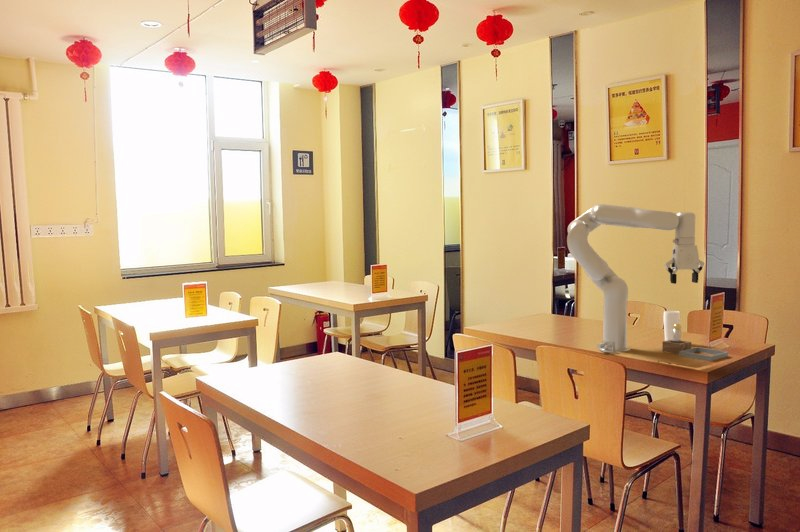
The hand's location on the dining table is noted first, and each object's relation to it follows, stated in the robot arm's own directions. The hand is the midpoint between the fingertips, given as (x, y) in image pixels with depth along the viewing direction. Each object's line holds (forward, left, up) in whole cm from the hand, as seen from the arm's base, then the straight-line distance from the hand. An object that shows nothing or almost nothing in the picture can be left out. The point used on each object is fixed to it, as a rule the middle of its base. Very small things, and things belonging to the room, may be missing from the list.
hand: (684, 282), depth 267 cm
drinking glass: (+9, +11, -29) cm, 32 cm away
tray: (-5, -12, -29) cm, 32 cm away
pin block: (-5, 0, -29) cm, 30 cm away
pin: (-5, 0, -28) cm, 29 cm away
